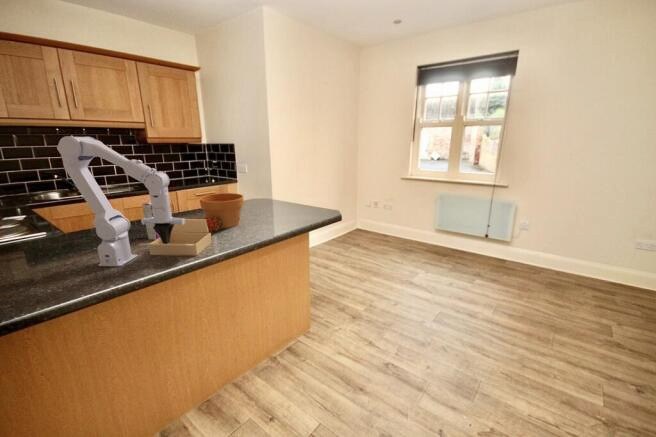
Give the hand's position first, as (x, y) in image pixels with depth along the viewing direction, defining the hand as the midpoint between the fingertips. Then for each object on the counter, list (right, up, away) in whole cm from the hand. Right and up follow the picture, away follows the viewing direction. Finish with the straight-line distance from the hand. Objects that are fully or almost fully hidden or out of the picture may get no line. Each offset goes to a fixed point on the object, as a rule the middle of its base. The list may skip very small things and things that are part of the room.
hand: (166, 242), depth 105 cm
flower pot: (+5, +6, +45) cm, 45 cm away
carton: (0, -3, +12) cm, 12 cm away
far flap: (0, +6, +15) cm, 16 cm away
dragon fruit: (+3, +2, +32) cm, 32 cm away
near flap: (0, 0, +1) cm, 1 cm away
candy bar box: (-17, +1, +26) cm, 31 cm away
